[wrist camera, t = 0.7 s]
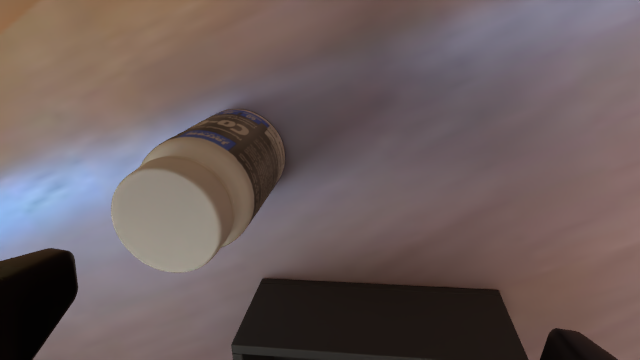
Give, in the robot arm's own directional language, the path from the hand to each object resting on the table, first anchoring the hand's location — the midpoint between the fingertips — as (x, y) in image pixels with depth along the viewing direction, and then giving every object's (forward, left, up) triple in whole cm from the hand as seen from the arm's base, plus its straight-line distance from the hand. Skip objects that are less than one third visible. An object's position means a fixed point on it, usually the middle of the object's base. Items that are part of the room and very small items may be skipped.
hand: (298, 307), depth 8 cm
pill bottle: (-1, +6, -14) cm, 15 cm away
